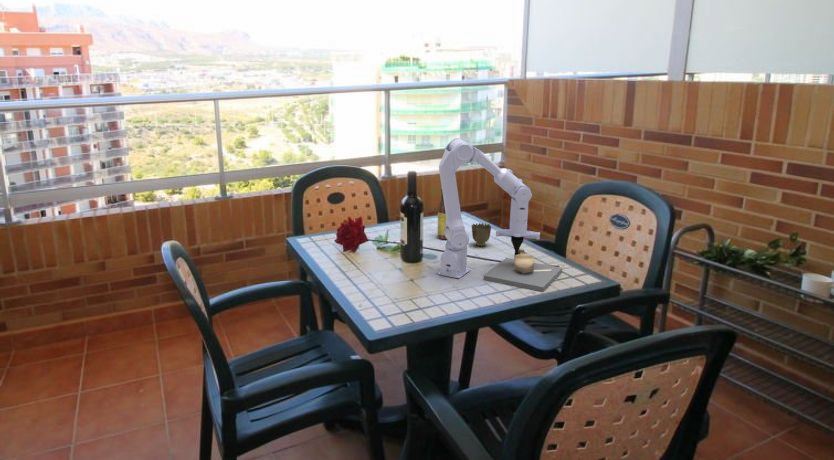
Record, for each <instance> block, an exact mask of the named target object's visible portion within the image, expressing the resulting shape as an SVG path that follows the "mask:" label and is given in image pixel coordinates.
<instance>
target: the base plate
mask: <svg viewBox="0 0 834 460" xmlns="http://www.w3.org/2000/svg"><path fill="white" fill-rule="evenodd" d="M514 260H515V258H511V257H505V258H504V259H503V260H501V261H500V262H499V263H497V264H496V265H495V266H494V267H492V268H491V269H490V270H488V272H486V273H485V274H484V275H483V281H487V282H492V283H497V284H502V285H508V286H513V287H517V288H521V289H522V288H523V289H527V290H532V291H537V292H542V293H543V292H544V291H546V290H547V288H548V287H549V286H550V285H551V284H552V283H553V282H554V281H555V280H556V279H557V278H558V277H559V276H560V275H561V274H562V273H563V267H560V266H554V265H549V264H543V263H538V262H534V270H533V271H531V272H520V271H517V270H515V269H514Z"/></svg>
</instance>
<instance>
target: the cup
mask: <svg viewBox="0 0 834 460" xmlns="http://www.w3.org/2000/svg"><path fill="white" fill-rule="evenodd" d="M491 230H492V226H491V225H490V223H488V224H487V223H483V222H482V223H481V222H479V223H473V224H471V235H472V239H473V241H474V242H475V245H476V246H477V247H480V248H481V247H482V248H483V247H486V244H487V242H488V241H489V240H490V237H491Z"/></svg>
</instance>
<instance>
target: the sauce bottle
mask: <svg viewBox="0 0 834 460" xmlns="http://www.w3.org/2000/svg"><path fill="white" fill-rule="evenodd" d="M440 191H441V196H440V197H441V200H440V201H439V203H438V207H437V210H438V211H437V238H438V239H440V240H447V239H446V237H445V234H444V232H445V228H446V212H445V205H444V199H443V192H442V187H441V189H440Z"/></svg>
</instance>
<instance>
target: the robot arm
mask: <svg viewBox="0 0 834 460" xmlns="http://www.w3.org/2000/svg"><path fill="white" fill-rule="evenodd" d="M468 162H471V163H478V164H479V165H480V166H481V167H483V169H485V170H486V171H488V172H489V173H490V174H491V175H492V176H493V181H494V183H495V184H497V186H499V187H500V188H501V189H502V190H503V191H505V192H506V193H507V194H508V195H509V196H510V197H511V198H510V199H511V200H510V213H509V215H510V216H509V229H507V228H505V229H496V230H495V237H508V238H509V237H510V241H511V244H512V246H513V249H514V256H513V257H514V258H513V259H515V255H518V250H519V249H521V246H522V244H523V242H524V238H526V239H536V240H540V238H541V237H540V236H541V232H539V231H538V232H537V231H531V230H527V229H528V215H529V202H530V201H531V200H532V197H533V193H532V191H531V188H530V187H529V186H528V185H526V184H524V183H523V182H524V181H523V180H522V179H521V178H518V177H517V176H515V175H514V171H513V170H511V169H510V168H505V167H504V168H503V167H502V168H500V166H498V165H497V164H496V163H495V162H494V161H492V159H490V157H488V156H487V155H486V154H485V153H484V152H483V151H482V150H480V149H478V148H477V147H475V146H474V145H472V144H471V143H470V142H467V141H465V140H464V139H463V138H459V137H455V138H453V139H452V140H450V141H449V143H447V144H446V146H445V147H444V152H443V155H442V158H441V159H440V163H439V164H438V173H439V177H440V185H441V188H442V192H443V199H444V205H445V212H446V228H445V232H444V234H445V237H446V239H447V241H446V242H445V245H444V246H445V249H444V251H443V253H442V254H441V255H440V265H439V266H440V268H439V269H440V270H439V271H438V272H437V274H438V275H440V276H446V277H451V278H456V279H460V278H462V277H463V276H465V275H466V274H467V273H469V272H470V271H471V270H472V269H471V268H469V267H467V263H468V261H467V260H468V259H467V258H468V257H467V256H468V244H469V242H470V238H469V234H468V233H467V231H466V230H465V225H464V222H463V219H462V212H461V205H460V198H459V191H458V183H457V176H456V172H457V171H458V169H459V168H460V167H461V166H463V165H465V164H466V163H468Z"/></svg>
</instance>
